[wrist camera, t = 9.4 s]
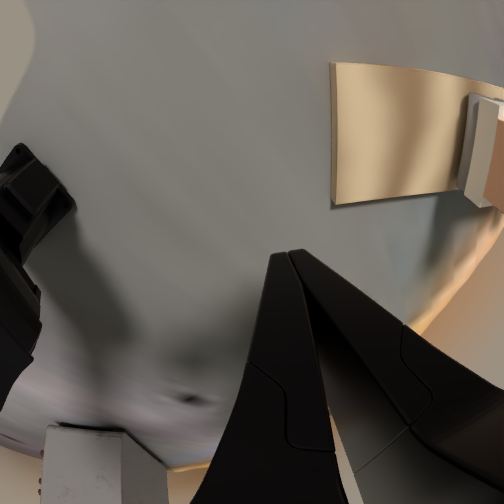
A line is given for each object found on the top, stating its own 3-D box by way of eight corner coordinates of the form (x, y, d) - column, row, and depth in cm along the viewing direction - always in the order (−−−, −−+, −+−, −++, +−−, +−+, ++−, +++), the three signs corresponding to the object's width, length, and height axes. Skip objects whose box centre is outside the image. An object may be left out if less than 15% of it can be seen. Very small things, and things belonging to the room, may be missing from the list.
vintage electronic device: (41, 415, 40) (31, 529, 21) (122, 423, 42) (125, 554, 23) (103, 459, 60) (104, 538, 40) (166, 463, 62) (173, 546, 42)
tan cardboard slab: (330, 198, 22) (369, 250, 17) (329, 62, 16) (383, 72, 11) (511, 180, 23) (550, 212, 18) (526, 95, 17) (573, 119, 12)
